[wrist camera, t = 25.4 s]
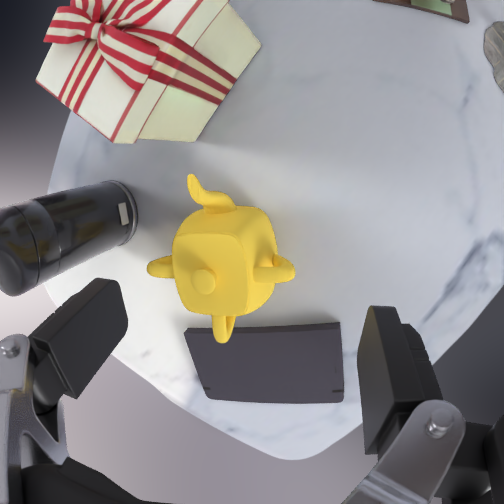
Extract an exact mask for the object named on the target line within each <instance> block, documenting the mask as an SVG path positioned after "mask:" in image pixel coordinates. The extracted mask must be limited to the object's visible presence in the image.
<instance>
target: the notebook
mask: <svg viewBox="0 0 504 504" xmlns="http://www.w3.org/2000/svg"><path fill="white" fill-rule="evenodd" d="M184 336H185V339H186V342H187V345H188V348H189V351H190V353H191V356H192V359H193V362H194V365H195V367H196V370H197V373H198V375H199V378H200V381H201V383H202V386H203V389H204V391H205V394H206V396H207V397H208V398H210V399H215V400H226V401H240V402H257V403H291V404H307V403H338V402H342V401H343V398H344V376H343V358H342V343H341V329H340V322H338V323H325V324H311V325H294V326H274V327H245V328H233V330H232V333H231V336H230V338H229V340H228V341H227V342H226V343H219V342H217V341H216V339H215V337H214V334H213V328H188V329H187V330H186V331H185V332H184Z"/></svg>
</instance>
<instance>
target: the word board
mask: <svg viewBox="0 0 504 504" xmlns="http://www.w3.org/2000/svg"><path fill="white" fill-rule="evenodd" d="M373 1H378V2H385V3H390V4H396V5H401V6H406V7H410V8H415V9H419V10H423V11H427V12H431V13H435V14H438V15H442V16H445V17H448V18H452V19H455V20H458V21H461V22H464V23H467V24H468V23H469V22H470V21H469V15H468V9H467V4H466V0H455V1H454V2H453V3H451V4H446V3H443V2H442V1H440V0H373Z"/></svg>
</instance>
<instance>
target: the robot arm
mask: <svg viewBox="0 0 504 504" xmlns="http://www.w3.org/2000/svg"><path fill="white" fill-rule="evenodd" d="M136 226H137V208H136V204H135V201H134V199H133V197H132V195H131V193H130V192H129V191H128V189H127V188H126V187H125V186H123V185H122V184H121V183H119V182H116V181H105V182H101V183H99V184H94V185H88V186H84V187H79V188H75V189H70V190H66V191H61V192H57V193H53V194H49V195H45V196H42V197H37V198H34V199H30V200H27V201H23V202H19V203H15V204H12V205H8V206H5V207H2V208H0V290H1V291H3V292H4V293H6V294H7V295H9V296H19V295H21V294H23V293H25V292H27V291H29V290H30V289H32V288H34V287H36V286H38V285H40V284H42V283H44V282H46V281H47V280H49V279H51V278H53V277H55V276H57V275H59V274H61V273H63V272H65V271H67V270H69V269H71V268H73V267H75V266H77V265H79V264H81V263H83V262H85V261H87V260H89V259H91V258H93V257H95V256H97V255H99V254H101V253H103V252H105V251H107V250H110V249H112V248H114V247H116V246H119V245H122V244H124V243H126V242H127V241H129V240H130V239H131V237H132V236H133V234H134V232H135V230H136ZM127 327H128V318H127V314H126V310H125V306H124V302H123V297H122V293H121V289H120V285H119V283H118V282H117V281H115V280H110V279H103V278H95V279H94V280H93V281H91V282H90V283H89V284H88V285H87V286H86V287H85V288H83V289H82V290H81V291H80V292H78V293H76V294H75V295H73V296H71V297H70V298H69V299H68V300H67V301H65V302H64V303H63V304H62V306H60V307H59V308H58V309H57V310H56V311H55V313H52V314H51V315H50V316H49V317H48V318H47V319H46V320H45V321H44V322H43V323H42V324H41V325H40V326H39V327H37V328H36V329H35V330H34V331H33V332H32V333H31V334H30V335H29V336H28V337H26V336H25V335H23V334H13V335H10V336H8V337H6V338H4V339H3V340H1V341H0V504H171V503H158V502H149V501H142V500H139V499H137V498H136V497H134V496H133V495H131V494H130V493H128V492H127V491H125V490H124V489H122V488H121V487H120V486H118V485H117V484H115V483H114V482H113V481H111V480H110V479H109V478H107V477H106V476H105V475H103V474H102V473H100V472H98V471H96V470H94V469H92V468H89V467H87V466H85V465H83V464H81V463H79V462H77V461H75V460H73V459H71V458H70V456H69V453H68V450H67V444H66V435H65V423H64V409H63V408H64V407H63V403H62V400H61V399H60V398H61V396H62V395H63V394H65V395H67V396H70V397H72V398H74V399H77V398H78V397H79V396H80V394H81V393H82V391H83V390H84V389H85V387H86V386H87V385H88V383H89V382H90V380H91V379H92V378H93V376H94V375H95V374H96V372H97V371H98V370H99V368H100V367H101V366H102V364H103V363H104V362H105V360H106V359H107V358H108V356H109V355H110V354H111V352H112V351H113V350H114V348H115V347H116V346H117V345H118V343H119V342H120V341H121V339H122V338H123V337H124V335H125V334H126V331H127ZM357 368H358V377H359V386H360V395H361V406H362V417H363V430H364V445H365V454H366V455H369V454H378V463H377V464H376V465H375V466H374V467H373V469H372V470H371V471H370V472H369V474H368V475H367V476H366V477H365V478H364V479H363V480H362V481H361V482H360V484H359V485H358V486H357V487H356V488H355V489H354V490H353V491H352V492H351V494H350V495H349V496H348V497H347V498H346V499H345V500H344V501H343V502H342V503H341V504H430V502H431V500H432V498H433V497H439V498H442V504H504V415H503V416H501V417H500V418H499V420H498V421H497V422H496V423H495V425H494V426H490V425H483V424H477V423H471V422H466V421H465V419H464V416H463V414H462V413H461V412H460V410H459V409H458V408H457V407H455V406H454V405H452V404H450V403H449V402H446V401H444V400H443V397H442V394H441V391H440V388H439V385H438V382H437V379H436V376H435V373H434V370H433V367H432V365H431V362H430V361H429V357H428V354H427V351H426V350H425V346H424V344H423V341H422V338H421V336H420V334H419V333H418V332H417V331H416V330H415V329H414V328H413V327H412V326H411V325H410V324H401V321H400V319H399V316H398V313H397V311H396V308H395V307H392V306H370V307H369V308H368V311H367V315H366V319H365V323H364V327H363V331H362V335H361V339H360V343H359V347H358V354H357ZM491 492H492V493H491ZM492 499H493V500H492Z"/></svg>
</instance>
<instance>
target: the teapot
mask: <svg viewBox="0 0 504 504" xmlns="http://www.w3.org/2000/svg"><path fill="white" fill-rule="evenodd" d="M187 185H188V190H189V193H190V195H191V197H192V198H193V200H194V201H195V202H196V203H198V204H201V205H203V208H204V209H200V210H198V211H196V212H193V213H192V214H191V215H189V216H188V217H187V218H186V219H185V220H184V221H183V222H182V224H181V225H180V227H179V229H178V231H177V233H176V235H175V237H174V240H173V244H172V255H170V256H166V257H162V258H159V259H156V260H154V261H151V262H150V263H149V264H148V265H147V272H148V274H150V275H151V276H154V277H159V278H175V282H176V286H177V290H178V293H179V296H180V299H181V301H182V303H183V305H184V306H185V308H186V309H187V310H189V311H191V312H194V313H199V314H206V315H212V327H213V334H214V337H215V339H216V341H217V342H219V343H226V342H227V341H228V340H229V338H230V336H231V333H232V330H233V327H234V323H235V319H236V316H242V315H245V314H248V313H250V312H253V311H255V310H256V309H258V308H260V307H261V306H262V305H263V304H264V303H265V302H266V301H267V300H268V299H269V298H270V296H271V294H272V292H273V290H274V286H275V283H282V282H288V281H290V280H292V279H293V278H294V277H295V268H294V266H293V264H292V263H291V262H290V261H288V260H287V259H285V258H283V257H281V256H279V255H278V252H277V244H276V239H275V235H274V231H273V228H272V225H271V223H270V220H269V218H268V216H267V215H266V214H265V213H264V211H262V210H261V209H259V208H256V207H249V206H235V204H234V202H233V200H232V199H231V198H230V197H229V196H228V195H227V194H225V193H222V192H218V191H206V190H205V189H204V188H203V187H202V186H201V184H200V182H199V181H198V179H197V177H196V176H195V175H193V174H190V175H189V176H188V178H187Z"/></svg>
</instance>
